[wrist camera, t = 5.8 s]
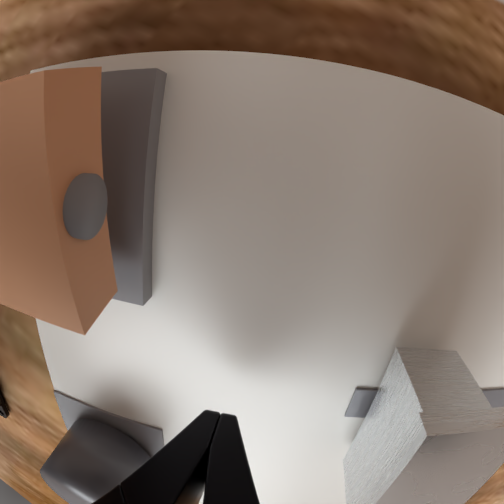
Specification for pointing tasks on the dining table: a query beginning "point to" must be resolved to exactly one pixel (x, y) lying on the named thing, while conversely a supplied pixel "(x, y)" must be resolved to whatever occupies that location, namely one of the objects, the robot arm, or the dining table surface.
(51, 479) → the button
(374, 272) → the panel
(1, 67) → the dining table surface
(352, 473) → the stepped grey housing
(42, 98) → the peach slab
